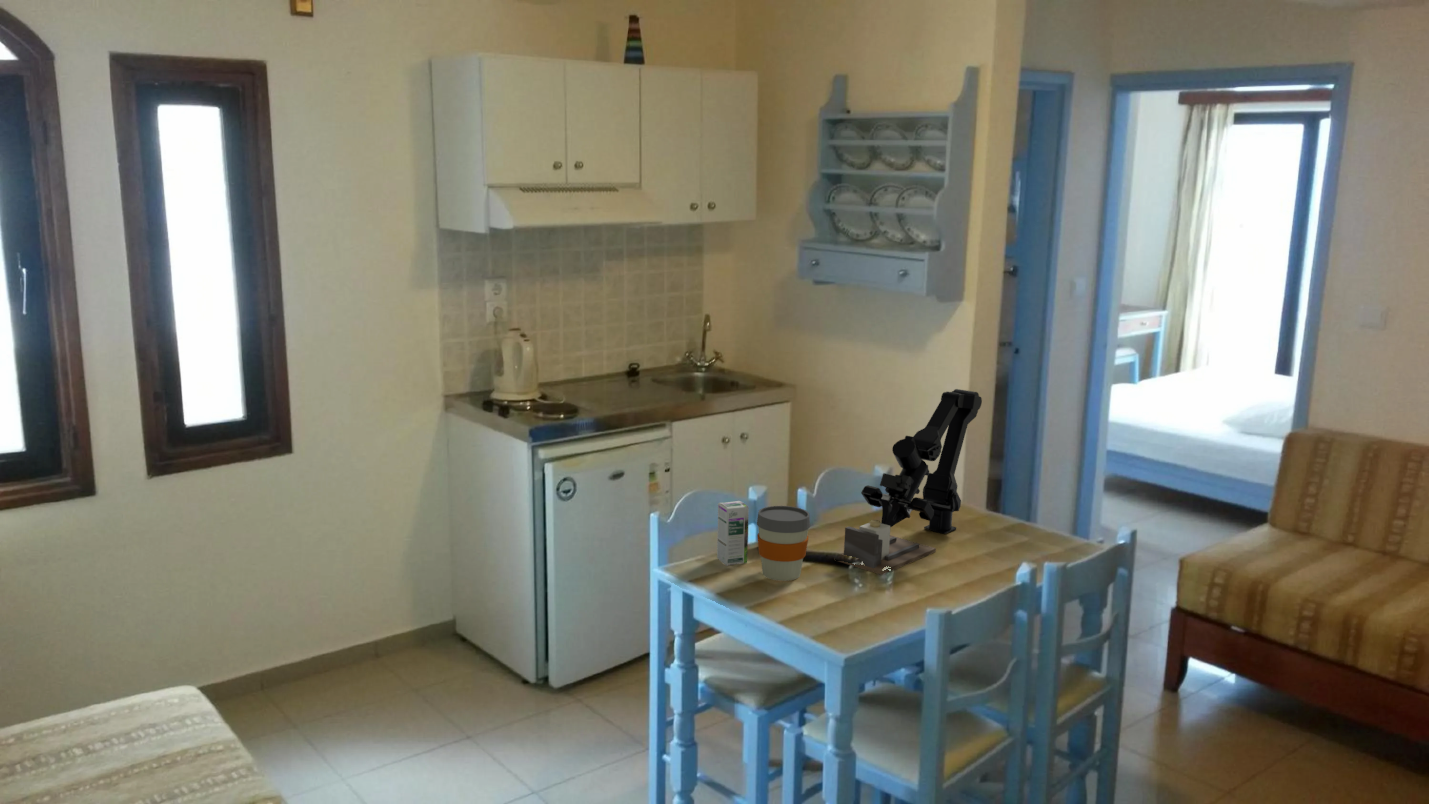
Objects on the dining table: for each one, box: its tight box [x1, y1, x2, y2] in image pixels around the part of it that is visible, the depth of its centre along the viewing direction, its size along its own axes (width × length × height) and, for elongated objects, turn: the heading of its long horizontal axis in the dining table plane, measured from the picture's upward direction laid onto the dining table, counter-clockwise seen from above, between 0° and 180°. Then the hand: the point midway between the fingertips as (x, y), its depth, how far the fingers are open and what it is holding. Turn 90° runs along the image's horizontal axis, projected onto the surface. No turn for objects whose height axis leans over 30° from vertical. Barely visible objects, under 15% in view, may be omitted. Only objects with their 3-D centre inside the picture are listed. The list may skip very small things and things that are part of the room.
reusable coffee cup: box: [756, 505, 811, 582], centre depth 257 cm, size 13×13×15 cm
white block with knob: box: [858, 519, 891, 560], centre depth 267 cm, size 6×5×9 cm
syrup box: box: [716, 500, 750, 567], centre depth 264 cm, size 6×6×14 cm
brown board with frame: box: [834, 526, 937, 576], centre depth 272 cm, size 24×14×9 cm, turn 137°
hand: (882, 530), depth 269 cm, fingers closed, pressing on white block with knob
